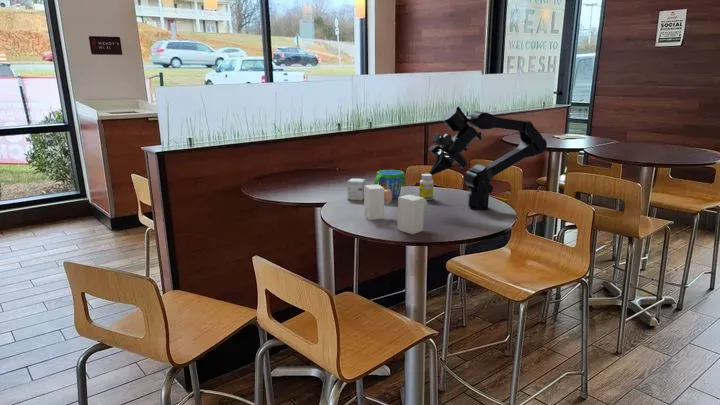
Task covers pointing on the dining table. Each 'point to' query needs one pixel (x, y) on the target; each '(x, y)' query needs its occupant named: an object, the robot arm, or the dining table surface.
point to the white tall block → (374, 202)
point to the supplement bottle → (426, 187)
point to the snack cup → (391, 181)
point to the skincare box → (356, 189)
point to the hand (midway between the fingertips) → (430, 174)
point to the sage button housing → (410, 213)
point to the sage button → (425, 205)
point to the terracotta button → (387, 195)
